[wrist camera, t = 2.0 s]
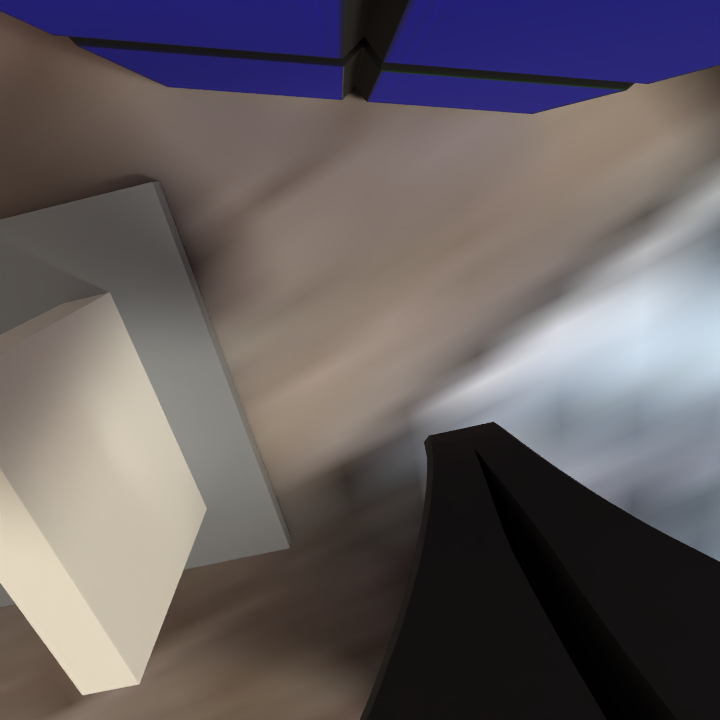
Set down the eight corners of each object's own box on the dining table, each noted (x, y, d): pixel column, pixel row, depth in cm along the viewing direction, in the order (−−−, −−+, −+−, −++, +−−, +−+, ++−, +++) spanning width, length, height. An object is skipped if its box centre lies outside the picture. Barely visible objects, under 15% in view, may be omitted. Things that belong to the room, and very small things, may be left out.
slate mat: (291, 538, 18) (289, 548, 17) (-52, 608, 18) (-62, 620, 18) (158, 180, 13) (152, 181, 12) (-307, 296, 13) (-331, 301, 13)
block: (206, 508, 16) (139, 684, 11) (163, 517, 16) (74, 696, 11) (109, 292, 13) (-55, 383, 8) (56, 304, 13) (-143, 403, 8)
